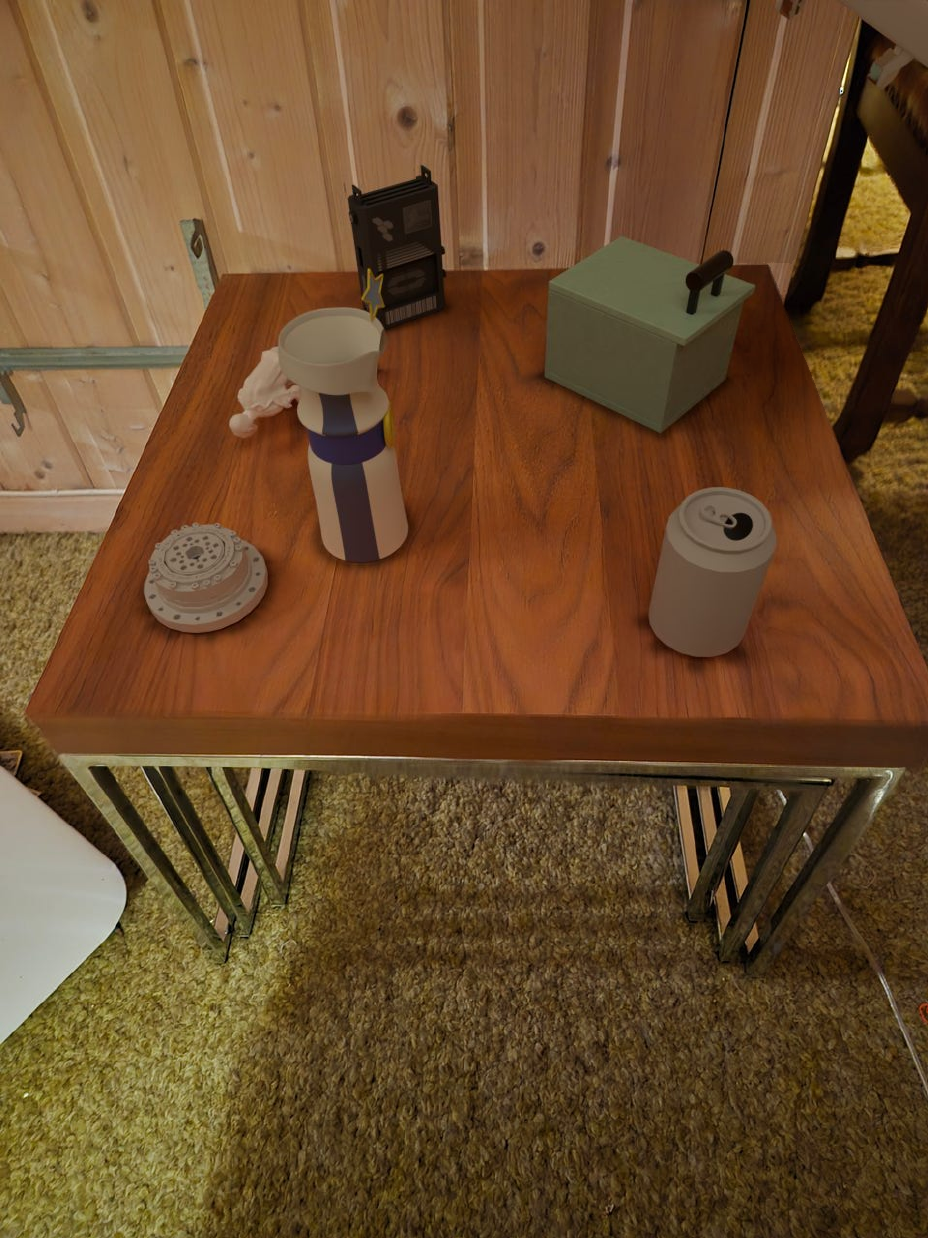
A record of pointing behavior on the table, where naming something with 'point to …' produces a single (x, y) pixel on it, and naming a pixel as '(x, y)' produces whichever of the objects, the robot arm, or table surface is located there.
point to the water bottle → (347, 426)
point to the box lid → (655, 288)
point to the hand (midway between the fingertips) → (833, 44)
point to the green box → (634, 362)
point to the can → (711, 571)
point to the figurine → (263, 394)
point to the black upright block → (400, 247)
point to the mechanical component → (204, 579)
